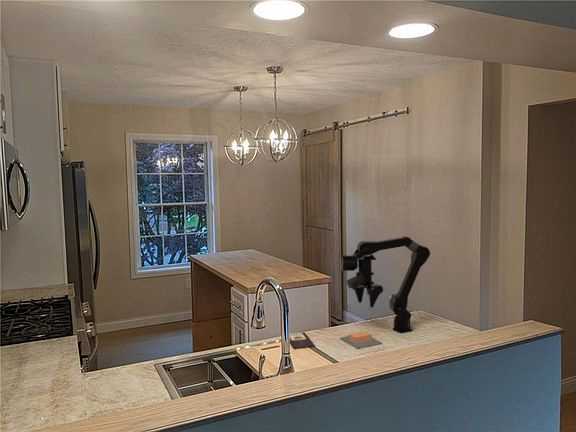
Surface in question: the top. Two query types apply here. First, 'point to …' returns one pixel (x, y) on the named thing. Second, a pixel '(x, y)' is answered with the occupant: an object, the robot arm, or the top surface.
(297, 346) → the chocolate bar
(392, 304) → the robot arm
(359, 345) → the mat
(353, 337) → the tile
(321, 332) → the top surface
